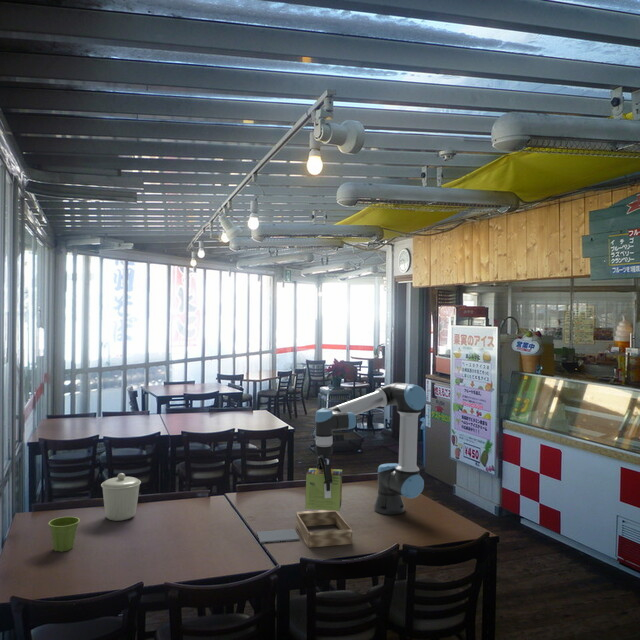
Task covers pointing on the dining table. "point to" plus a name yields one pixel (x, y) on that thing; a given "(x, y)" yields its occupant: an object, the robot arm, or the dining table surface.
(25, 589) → the dining table surface
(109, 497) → the canister
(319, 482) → the protein box
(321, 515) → the open wooden box
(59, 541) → the plant pot
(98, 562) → the dining table surface
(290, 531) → the mat
